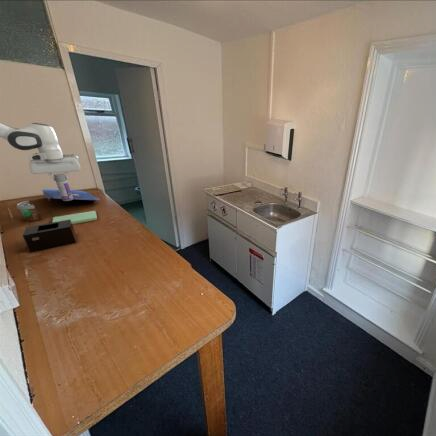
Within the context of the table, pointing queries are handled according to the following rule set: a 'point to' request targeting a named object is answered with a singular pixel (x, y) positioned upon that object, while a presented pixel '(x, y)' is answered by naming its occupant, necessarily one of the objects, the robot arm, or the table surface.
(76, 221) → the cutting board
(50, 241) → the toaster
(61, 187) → the container
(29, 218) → the food container
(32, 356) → the table surface
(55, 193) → the blue sloped panel
